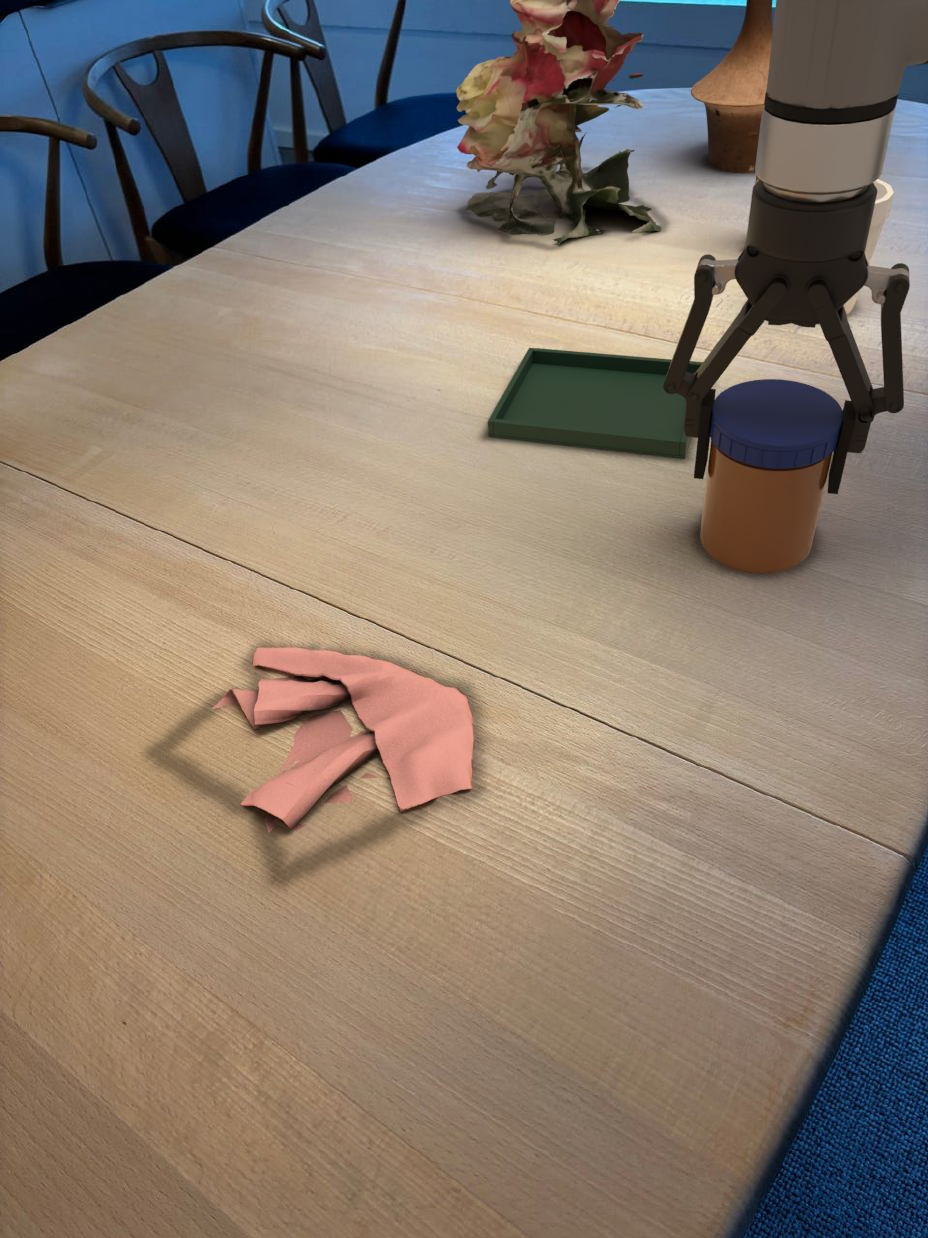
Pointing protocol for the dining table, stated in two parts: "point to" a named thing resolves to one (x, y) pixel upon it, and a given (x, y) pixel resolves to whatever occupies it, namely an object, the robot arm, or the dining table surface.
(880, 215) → the foam cup
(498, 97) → the rose bouquet
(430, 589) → the dining table surface
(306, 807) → the cloth
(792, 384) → the jar lid
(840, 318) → the robot arm
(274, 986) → the dining table surface
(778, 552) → the jar
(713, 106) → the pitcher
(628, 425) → the tray
